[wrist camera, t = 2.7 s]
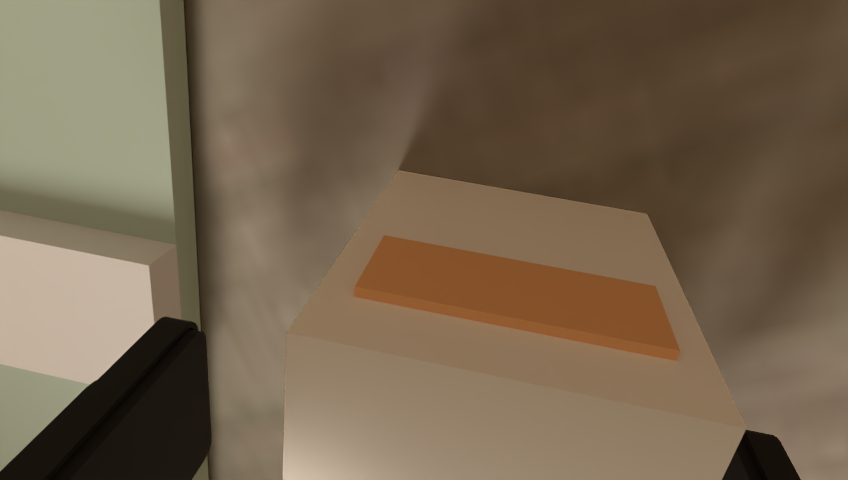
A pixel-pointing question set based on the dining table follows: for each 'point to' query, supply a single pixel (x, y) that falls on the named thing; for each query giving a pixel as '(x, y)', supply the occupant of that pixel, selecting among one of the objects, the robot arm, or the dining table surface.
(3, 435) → the rail board
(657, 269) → the block
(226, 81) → the dining table surface
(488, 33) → the dining table surface
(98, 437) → the robot arm
